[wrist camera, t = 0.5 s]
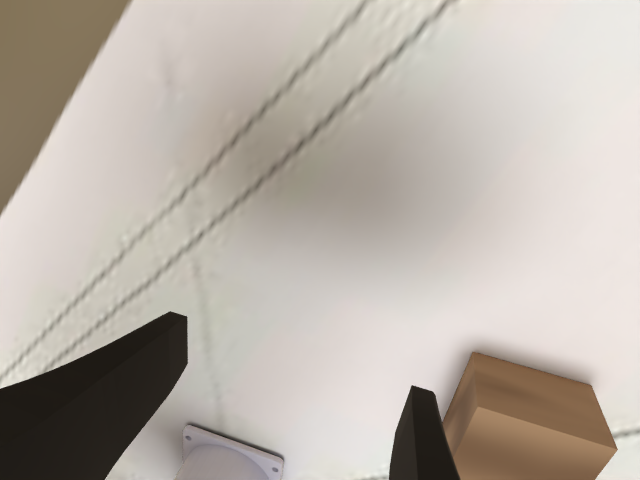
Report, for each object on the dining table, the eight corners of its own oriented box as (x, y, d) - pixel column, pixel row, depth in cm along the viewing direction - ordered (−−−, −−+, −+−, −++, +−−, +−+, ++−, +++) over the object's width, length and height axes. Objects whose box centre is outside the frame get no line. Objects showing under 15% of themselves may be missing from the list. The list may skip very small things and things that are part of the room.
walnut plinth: (544, 455, 24) (560, 524, 21) (441, 422, 25) (440, 483, 22) (590, 382, 22) (617, 449, 18) (472, 349, 23) (477, 406, 19)
